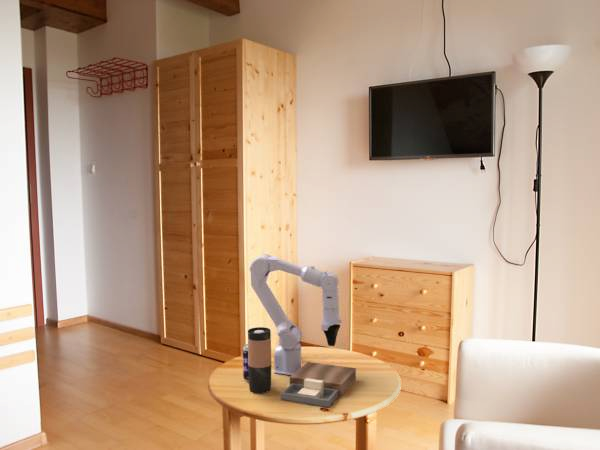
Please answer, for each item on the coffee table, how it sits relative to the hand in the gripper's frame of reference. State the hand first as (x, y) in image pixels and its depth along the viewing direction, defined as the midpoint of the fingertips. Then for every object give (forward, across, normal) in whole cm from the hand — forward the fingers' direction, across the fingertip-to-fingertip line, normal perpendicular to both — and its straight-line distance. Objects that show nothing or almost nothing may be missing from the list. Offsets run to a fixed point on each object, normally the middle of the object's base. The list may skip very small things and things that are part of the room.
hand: (331, 345), depth 182 cm
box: (+10, -23, 0) cm, 25 cm away
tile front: (+8, -24, 0) cm, 25 cm away
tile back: (+8, -19, -1) cm, 21 cm away
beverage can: (+10, -15, +25) cm, 31 cm away
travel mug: (+10, -22, +18) cm, 30 cm away
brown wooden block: (+10, -10, 0) cm, 15 cm away
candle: (+10, +9, +23) cm, 26 cm away
